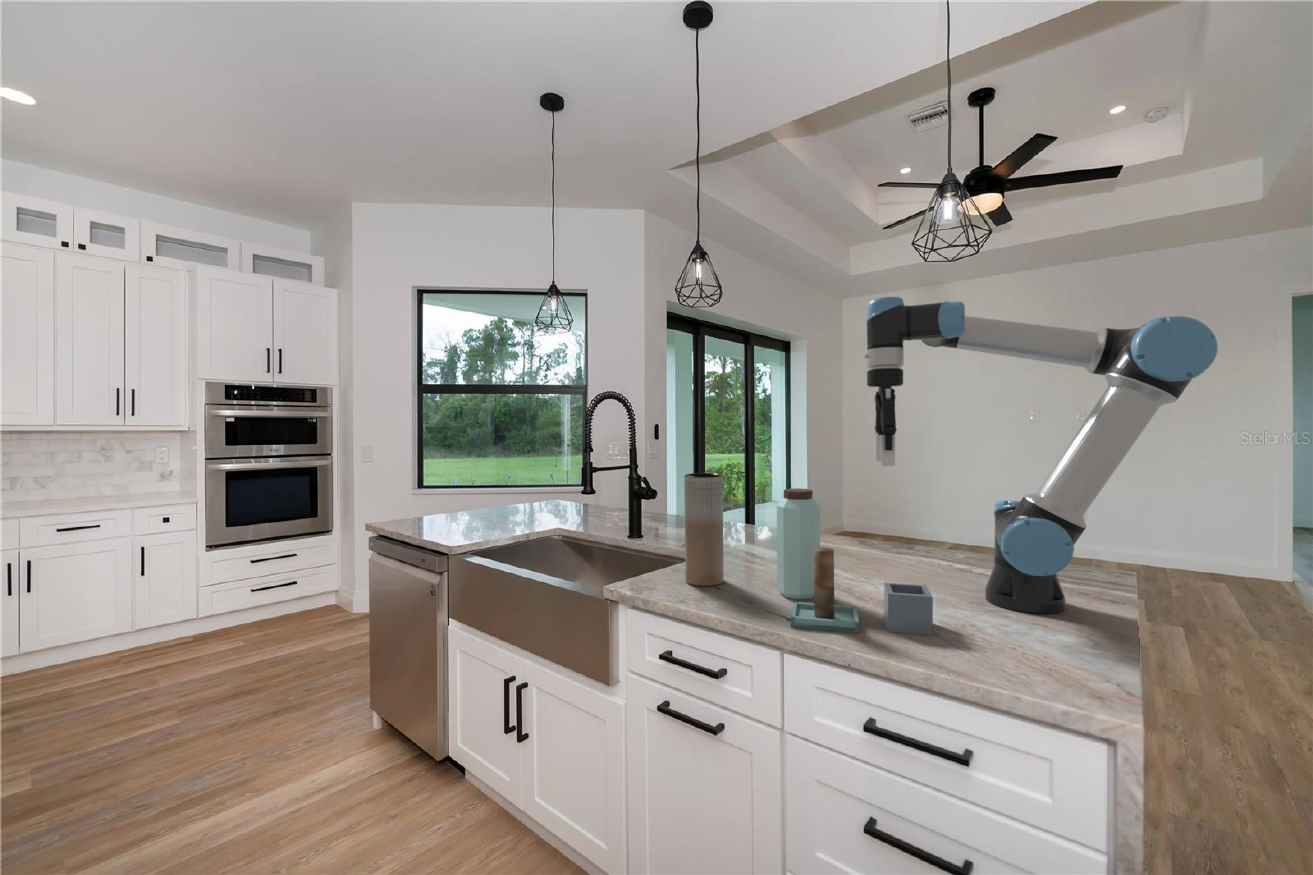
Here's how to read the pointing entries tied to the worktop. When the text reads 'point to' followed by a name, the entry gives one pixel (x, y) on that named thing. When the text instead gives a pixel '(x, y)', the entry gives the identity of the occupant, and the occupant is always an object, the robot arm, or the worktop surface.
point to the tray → (842, 622)
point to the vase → (704, 529)
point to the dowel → (824, 583)
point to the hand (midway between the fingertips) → (884, 463)
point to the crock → (908, 608)
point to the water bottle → (797, 543)
